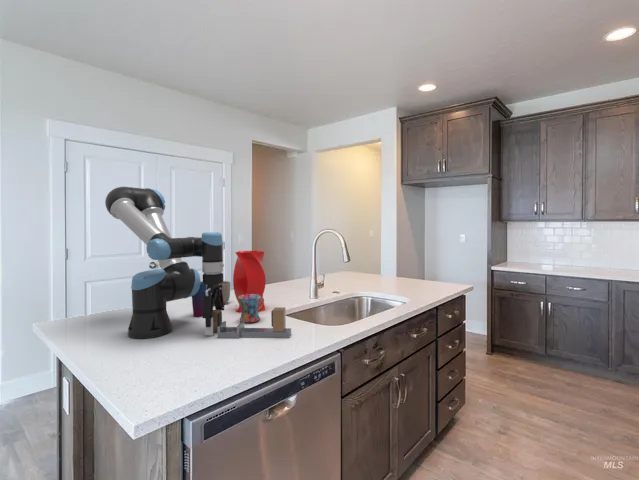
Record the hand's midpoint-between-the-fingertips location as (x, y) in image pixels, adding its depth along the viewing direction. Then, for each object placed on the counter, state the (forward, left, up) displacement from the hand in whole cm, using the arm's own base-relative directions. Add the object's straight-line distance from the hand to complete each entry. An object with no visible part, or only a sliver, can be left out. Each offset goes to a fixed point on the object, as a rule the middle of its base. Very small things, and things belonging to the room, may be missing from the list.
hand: (214, 331), depth 135 cm
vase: (+5, +35, 0) cm, 35 cm away
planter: (-15, +47, 0) cm, 49 cm away
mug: (+11, +16, 0) cm, 19 cm away
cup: (-15, +23, 0) cm, 28 cm away
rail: (+17, -4, 0) cm, 17 cm away
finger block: (0, 0, 0) cm, 0 cm away
